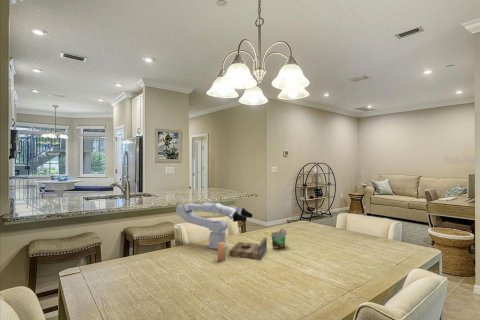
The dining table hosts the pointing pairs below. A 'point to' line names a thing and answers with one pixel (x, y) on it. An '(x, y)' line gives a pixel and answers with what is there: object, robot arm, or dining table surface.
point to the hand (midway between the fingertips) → (249, 217)
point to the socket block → (249, 249)
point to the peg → (221, 251)
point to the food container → (279, 239)
